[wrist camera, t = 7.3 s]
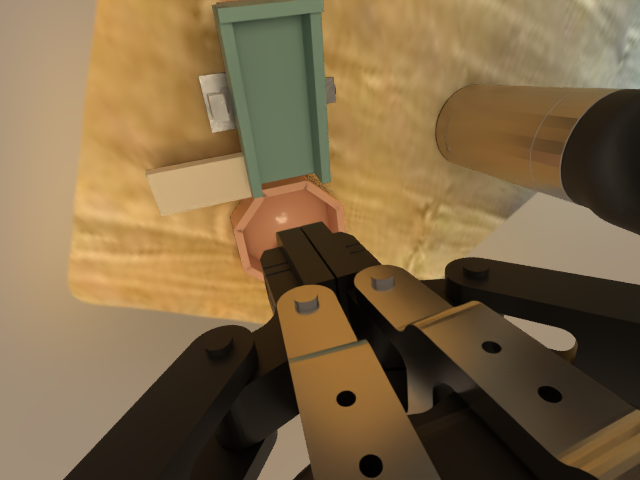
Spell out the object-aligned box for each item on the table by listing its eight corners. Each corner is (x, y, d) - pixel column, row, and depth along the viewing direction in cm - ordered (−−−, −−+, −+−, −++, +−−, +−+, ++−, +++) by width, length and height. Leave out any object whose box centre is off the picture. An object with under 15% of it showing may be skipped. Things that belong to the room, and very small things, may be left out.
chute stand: (311, 60, 37) (334, 56, 31) (317, 112, 39) (340, 119, 33) (198, 76, 35) (199, 76, 29) (211, 131, 37) (215, 142, 31)
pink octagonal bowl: (327, 165, 42) (339, 173, 38) (338, 256, 47) (350, 271, 43) (222, 187, 39) (225, 198, 36) (246, 281, 44) (250, 298, 41)
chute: (299, -6, 30) (323, -3, 25) (314, 168, 38) (333, 194, 34) (94, 15, 26) (78, 23, 22) (161, 200, 35) (161, 233, 31)
